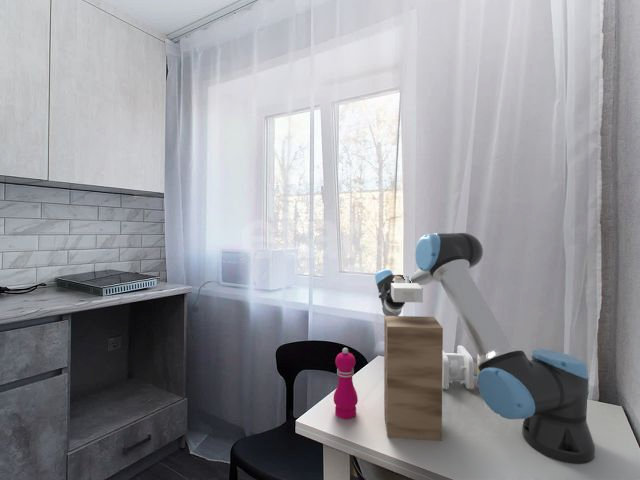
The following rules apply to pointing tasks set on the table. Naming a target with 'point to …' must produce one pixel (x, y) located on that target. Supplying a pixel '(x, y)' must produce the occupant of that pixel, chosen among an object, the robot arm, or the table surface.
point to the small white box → (406, 291)
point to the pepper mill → (345, 386)
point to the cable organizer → (457, 368)
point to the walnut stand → (413, 377)
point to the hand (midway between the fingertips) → (402, 279)
